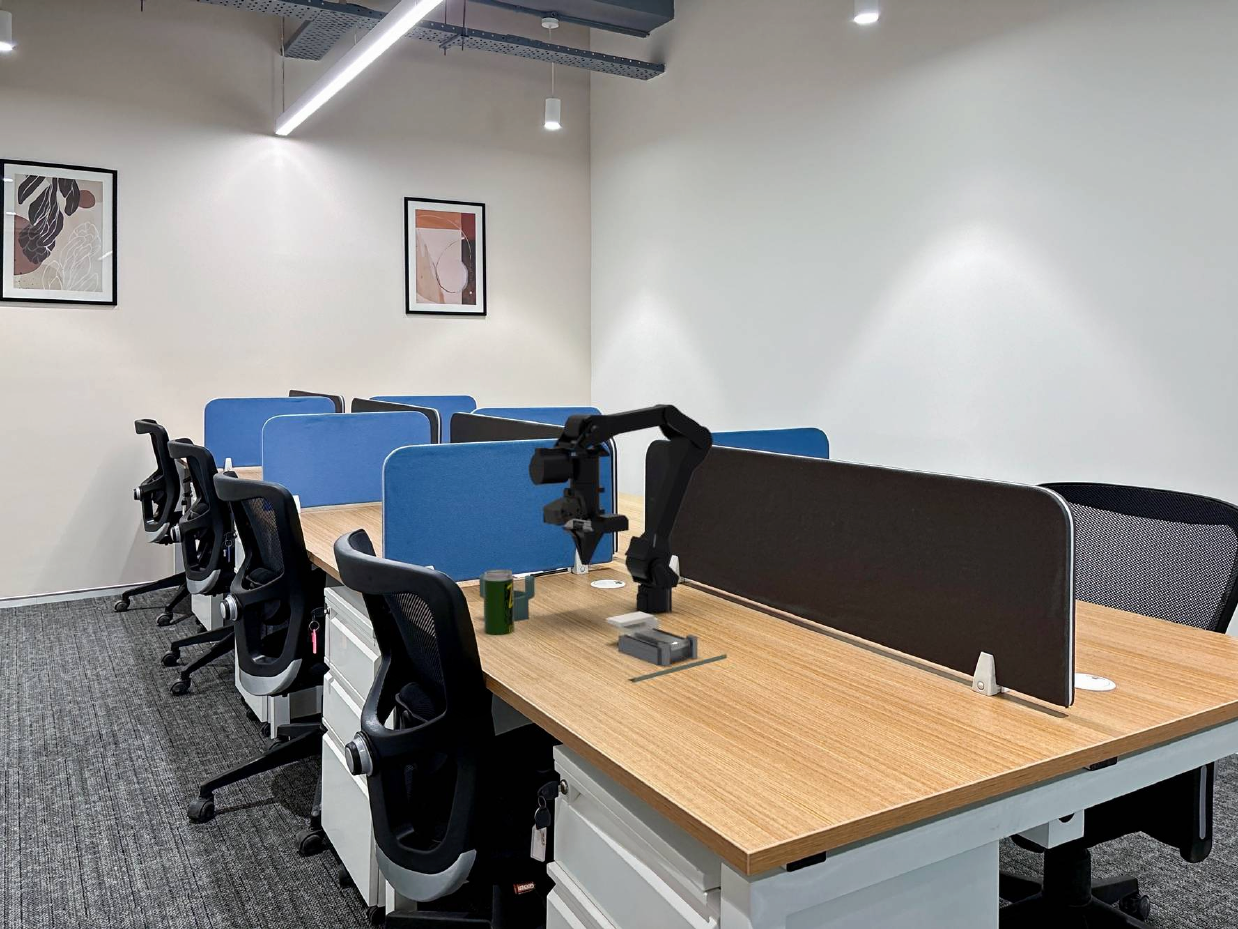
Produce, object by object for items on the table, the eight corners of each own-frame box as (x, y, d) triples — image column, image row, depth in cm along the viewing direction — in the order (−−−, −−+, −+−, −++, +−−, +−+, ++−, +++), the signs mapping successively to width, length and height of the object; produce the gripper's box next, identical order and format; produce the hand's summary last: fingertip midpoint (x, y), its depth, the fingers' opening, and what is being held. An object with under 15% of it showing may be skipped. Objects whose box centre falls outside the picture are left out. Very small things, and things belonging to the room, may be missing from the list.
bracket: (537, 622, 180) (537, 576, 179) (493, 628, 175) (493, 581, 175) (518, 612, 188) (518, 568, 187) (475, 618, 183) (475, 573, 182)
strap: (632, 627, 162) (633, 620, 162) (690, 648, 151) (690, 640, 151) (614, 631, 160) (614, 623, 160) (671, 653, 148) (671, 644, 148)
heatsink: (654, 643, 161) (654, 622, 161) (699, 658, 152) (699, 636, 152) (618, 652, 156) (618, 630, 156) (662, 668, 147) (662, 644, 147)
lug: (644, 635, 166) (644, 610, 165) (658, 640, 162) (658, 614, 162) (606, 643, 160) (606, 618, 160) (620, 649, 157) (620, 622, 157)
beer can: (484, 642, 166) (483, 576, 165) (484, 634, 171) (483, 569, 170) (514, 641, 167) (513, 575, 166) (513, 633, 172) (512, 569, 171)
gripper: (519, 481, 174) (520, 563, 176) (582, 489, 160) (583, 578, 162) (566, 476, 182) (567, 555, 183) (630, 484, 168) (630, 570, 169)
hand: (585, 564), depth 174 cm, fingers closed
